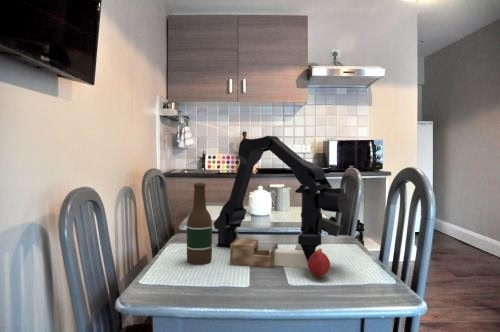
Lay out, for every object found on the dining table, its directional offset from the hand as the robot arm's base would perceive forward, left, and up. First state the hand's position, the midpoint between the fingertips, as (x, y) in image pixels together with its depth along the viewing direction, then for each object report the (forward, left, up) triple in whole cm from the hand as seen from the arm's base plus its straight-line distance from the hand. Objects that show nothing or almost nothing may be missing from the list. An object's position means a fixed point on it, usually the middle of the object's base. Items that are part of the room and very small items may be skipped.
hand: (310, 261), depth 106 cm
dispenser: (-16, 0, -1) cm, 17 cm away
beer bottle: (-33, -3, -2) cm, 34 cm away
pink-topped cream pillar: (-5, 0, -1) cm, 5 cm away
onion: (+3, -10, -2) cm, 10 cm away
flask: (-2, +18, -2) cm, 18 cm away
